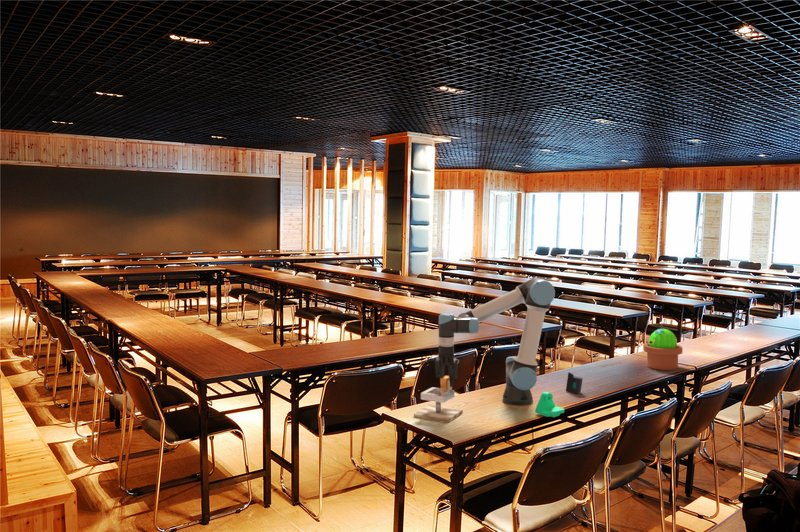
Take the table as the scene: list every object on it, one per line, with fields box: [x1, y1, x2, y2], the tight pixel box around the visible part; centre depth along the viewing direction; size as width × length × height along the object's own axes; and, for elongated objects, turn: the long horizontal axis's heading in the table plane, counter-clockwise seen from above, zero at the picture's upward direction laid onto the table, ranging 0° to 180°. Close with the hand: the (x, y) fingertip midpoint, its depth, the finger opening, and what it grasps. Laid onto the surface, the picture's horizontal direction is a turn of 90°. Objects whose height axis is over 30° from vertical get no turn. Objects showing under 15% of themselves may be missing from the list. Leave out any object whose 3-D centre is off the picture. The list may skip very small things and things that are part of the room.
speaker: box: [565, 371, 583, 394], centre depth 314 cm, size 8×6×10 cm
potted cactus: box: [642, 328, 683, 371], centre depth 367 cm, size 22×22×25 cm
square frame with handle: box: [420, 375, 456, 404], centre depth 282 cm, size 18×12×8 cm, turn 150°
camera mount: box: [534, 391, 565, 418], centre depth 278 cm, size 12×8×10 cm, turn 122°
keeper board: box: [413, 390, 464, 424], centre depth 279 cm, size 16×18×12 cm
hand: (446, 392), depth 287 cm, fingers closed on square frame with handle, 3 cm apart
